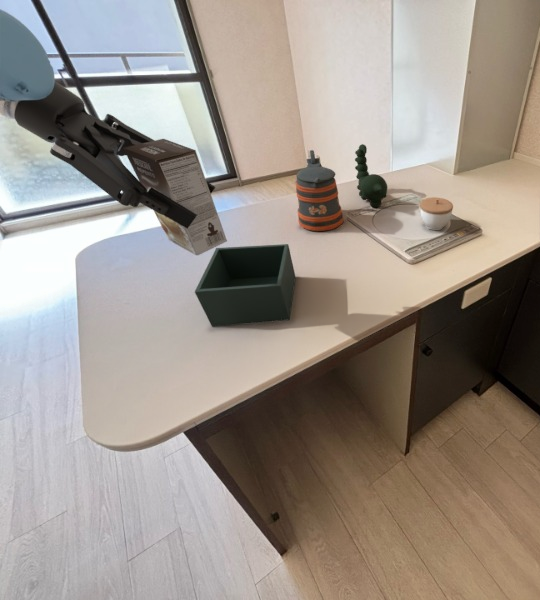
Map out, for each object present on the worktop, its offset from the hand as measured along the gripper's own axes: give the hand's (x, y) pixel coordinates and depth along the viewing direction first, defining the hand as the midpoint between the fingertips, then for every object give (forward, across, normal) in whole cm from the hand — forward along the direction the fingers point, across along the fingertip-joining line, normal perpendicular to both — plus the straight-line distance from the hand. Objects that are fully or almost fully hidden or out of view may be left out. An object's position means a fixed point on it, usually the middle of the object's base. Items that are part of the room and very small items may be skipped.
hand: (202, 206), depth 55 cm
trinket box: (+57, -39, +18) cm, 71 cm away
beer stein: (+30, -48, -9) cm, 58 cm away
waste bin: (+20, -7, -18) cm, 28 cm away
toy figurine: (+43, -62, +4) cm, 76 cm away
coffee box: (+3, 0, -7) cm, 7 cm away
